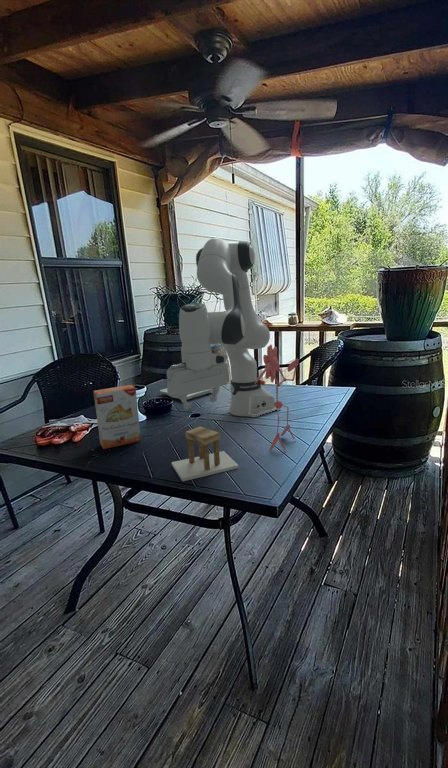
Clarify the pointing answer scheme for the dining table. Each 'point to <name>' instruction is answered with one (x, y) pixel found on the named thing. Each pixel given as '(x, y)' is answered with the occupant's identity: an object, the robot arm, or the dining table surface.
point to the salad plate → (190, 394)
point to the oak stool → (203, 445)
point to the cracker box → (117, 416)
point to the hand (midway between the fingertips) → (200, 404)
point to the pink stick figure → (270, 370)
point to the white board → (197, 468)
